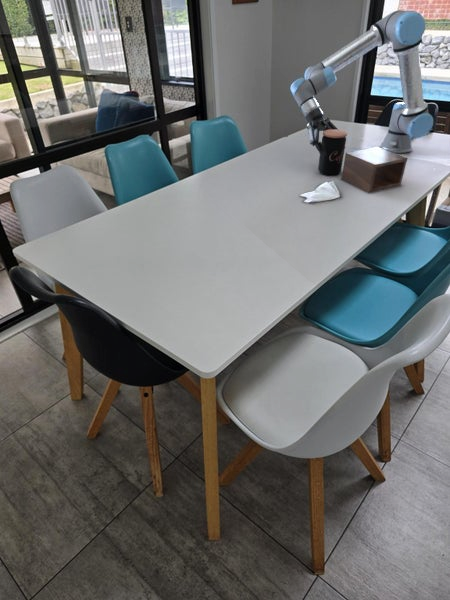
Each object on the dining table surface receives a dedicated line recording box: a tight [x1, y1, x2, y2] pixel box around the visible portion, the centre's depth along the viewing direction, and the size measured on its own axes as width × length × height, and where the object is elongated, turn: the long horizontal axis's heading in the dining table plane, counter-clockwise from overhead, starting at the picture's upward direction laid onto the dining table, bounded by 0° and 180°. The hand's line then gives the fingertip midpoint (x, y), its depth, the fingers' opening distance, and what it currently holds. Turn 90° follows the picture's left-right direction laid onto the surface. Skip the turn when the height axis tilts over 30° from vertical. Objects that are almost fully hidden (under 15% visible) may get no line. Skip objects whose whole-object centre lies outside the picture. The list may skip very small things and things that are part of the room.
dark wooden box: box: [340, 146, 408, 194], centre depth 180 cm, size 18×18×12 cm
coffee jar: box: [317, 129, 348, 177], centre depth 189 cm, size 11×11×18 cm
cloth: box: [299, 180, 341, 204], centre depth 173 cm, size 26×14×2 cm, turn 136°
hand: (334, 153), depth 188 cm, fingers open, 13 cm apart
